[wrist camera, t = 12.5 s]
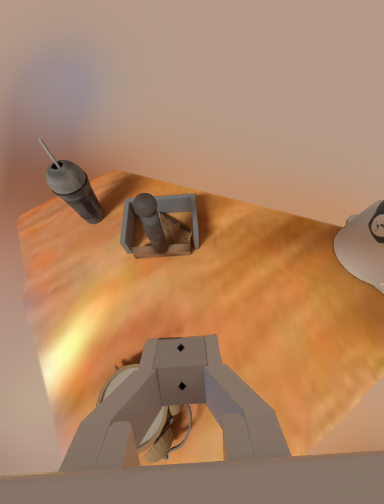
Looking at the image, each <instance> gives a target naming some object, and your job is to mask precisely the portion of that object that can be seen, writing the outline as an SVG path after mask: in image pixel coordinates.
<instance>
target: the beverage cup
mask: <svg viewBox="0 0 384 504" xmlns="http://www.w3.org/2000/svg"><path fill="white" fill-rule="evenodd" d="M38 140H39V141H40V143H41V144H42V146H43V147H44V149H45V150H46V152H47V153H48V154H49V156H50V157H51V159H52V160H53V161H54V162H53V163H52V164H51V165H50V166H49V167H48V169H47V173H46V177H47V178H46V179H47V182H48V184H49V186H50V188H51V190H52V192H54V193H55V194H56V195H58V196H59V197H61V198H62V199H63V200H65V201H66V202H67V203H68V204H69V205H70V206H71V207H72V208H73V209H74V210H75V211H76V212H77V213H78V214H79V215H80V216H81V217H82V218H83V219H85V220H86V221H87V222H88V223H90V224H96V223H99V222H100V221H102V219H103V218H104V212H103V210H102V208H101V206H100V204H99V202H98V200H97V198H96V196H95V194H94V192H93V190H92V188H91V186H90V182H89V180H88V178H87V174H86V173H85V172H84V171H83V170H82V169H81V168H80V167H79V166H78V165H76V164H75V163H73V162H70V161H66V160H59V161H56V159H55V158H54V156H53V155H52V154H51V152H50V151H49V149H48V148H47V146H46V145H45V143H44V142H43V141H42V139H41V138H38Z"/></svg>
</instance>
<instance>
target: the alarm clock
mask: <svg viewBox="0 0 384 504" xmlns="http://www.w3.org/2000/svg"><path fill="white" fill-rule="evenodd" d="M138 367H139V364H131V365H126V366H124V367H122V368H120V369H118V367H117V366H114V369H115V372H114V373H113V374H112V375H111V376H110V377H109V378H108V379H107V381H106V382H105V384H104V386H103V387H102V389H101V391H100V394H99V397H98V400H97V403H96V407H97V406H98V405H99V404H100V403H101V402H102V401H103V400H104V399H105V398H106V397H107V396H109V395H110V394H111V393H112V392H113V391H114V390H115V389H116V388H117V387H118V386H119V385H120V384H121V383H122V382H123V381H124V380H125V379H126V378H127V377H128V376H129V375H130V374H131V373H132V372H133V371H135V370H138ZM185 405H186V406H187V409H188V412H189V417H190V421H189V429H188V432H187V435H186V437H185V439H184V440H183V441H182V442H181V443H180V444H179V445H177V446H175V447H173V448H171V449H170V450H169V448H170V446H171V444H172V441H173V431H172V429H171V427H169V428H168V429H167V430H166V432H165V433H164V434H163V435H162V437H161V438H160V439H159V438H158V436H159V435H160V434H161V433H162V432H163V430H164V429H165V427H166V424H167V422H168V420H169V418H170V413H171V415H176V414H178V413H179V412H180V410H181V409H182V406H183V404H180V405H170V406H162V409H161V411H160V412H159V414H158V415H157V417H156V419H155V420H154V422H153V424H152V425H151V427H150V428H149V430H148V432H147V433H146V435H145V437H144V438H143V440H142V441H141V443H140V445H139V446H138V448H137V453H138V454H139V453H140V452H142V451H144V450H145V449H147V448H149V447H150V446H151V445H152V443H153V442H154V441H155V440H157V443H155V445H154V446H153V447H152V448H151V449H150V451H149V452H148V453H147V454H146V455H145V457H144V458H145V459H146V460H147V461H148V462H151V463H153V462H157V461H159V460H160V459H161V458H164V459H165V460H167V459H168V453H169V452H171V451H174V450H176V449H178V448H180V447H181V446H182V445H183V444H184V443H185V441H186V439H187V438H188V436H189V433H190V430H191V425H192V413H191V409H190V407H189V405H188V404H185ZM169 421H170V424H172V422H173V418H171V420H169ZM168 450H169V451H168Z"/></svg>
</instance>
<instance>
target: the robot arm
mask: <svg viewBox="0 0 384 504" xmlns="http://www.w3.org/2000/svg"><path fill="white" fill-rule="evenodd" d="M334 250H335V254H336V256H337V258H338V260H339V261H340V263H341V264H342V265H343V267H344V268H345V269H346V270H347V271H348V272H350V273H351V274H352V275H354V276H355V277H357V278H358V279H360V280H362V281H365V282H367V283H369V284H371V285H373V286H374V287H376V288H377V289H378V290H379V291H380V292H382V293H383V294H384V200H383V201H381V200H379V201H377V202H376V203H374V204H373V205H371V206H370V207H369V208H367V209H366V210H364V211H363V212H362V213H360V214H359V215H352V216H350V217H349V218H348V219H347V221H346V225H345V226H344V227H343V228H342V229H341V230H340V231H339V232H338V233H337V235H336V236H335V239H334ZM200 403H206V405H207V407H208V408H209V410H210V411H211V413H212V414H213V416H214V417H215V419H216V421H217V422H218V424H219V425H220V427H221V428H222V430H223V455H224V461H215V462H200V463H185V464H170V465H155V466H140V462H139V458H138V453H137V448H138V446H139V445H140V443H141V441H142V440H143V438H144V437H145V435H146V433H147V432H148V430H149V428H150V427H151V425H152V424H153V422H154V420H155V419H156V417H157V415H158V414H159V412H160V411H161V409H162V406H170V405H180V404H200ZM0 504H384V450H382V451H368V452H353V453H337V454H323V455H306V456H291V454H290V451H289V448H288V446H287V443H286V440H285V438H284V435H283V433H282V430H281V427H280V425H279V422H278V419H277V417H276V414H275V411H274V410H273V409H272V408H271V407H270V406H269V405H268V404H267V403H266V402H265V401H264V400H263V399H262V398H261V397H260V396H259V395H258V394H256V393H255V392H254V391H253V390H252V389H251V388H250V387H249V386H248V385H247V384H246V383H245V382H244V381H243V380H242V379H241V378H240V377H239V376H238V375H237V374H236V373H235V372H234V371H232V370H231V369H230V368H229V367H228V366H227V365H226V364H223V365H222V360H221V355H220V350H219V344H218V339H217V335H216V334H211V335H205V336H190V337H173V338H155V339H147V340H146V342H145V345H144V349H143V353H142V356H141V360H140V364H139V367H138V370H135V371H133V372H132V373H131V374H130V375H129V376H128V377H127V378H126V379H125V380H124V381H123V382H122V383H121V384H120V385H119V386H118V387H117V388H116V389H115V390H114V391H113V392H112V393H111V394H110V395H109V396H107V397H106V398H105V399H104V400H103V401H102V402H101V403H100V404H99V405H98V406H97V407H96V408H95V409H94V410H93V411H92V412H91V413H90V414H89V415H88V416H87V417H86V418H85V419H84V420H83V421H82V422H81V423H80V425H79V427H78V430H77V432H76V434H75V436H74V438H73V441H72V443H71V445H70V447H69V449H68V451H67V454H66V456H65V458H64V460H63V462H62V465H61V467H60V469H59V471H58V472H46V473H31V474H16V475H1V476H0Z"/></svg>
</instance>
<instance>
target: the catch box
mask: <svg viewBox="0 0 384 504" xmlns="http://www.w3.org/2000/svg"><path fill="white" fill-rule="evenodd" d="M154 198H155V199H156V201H157V211H158V214H160V212H162V213H174V212H188V211H192V221H193V235H194V248H195V249H199V233H198V222H197V210H196V199H195V194H182V195H169V196H155V197H154ZM134 199H135V198H127V199H125V202H124V211H123V220H122V229H121V238H120V243H121V245H122V246H123V248H124V249H125V250H126V252H127V253H128V254H129V253H132V247H133V236H134V223H135V215H137V214H136V212H135V211H134V208H133V201H134Z"/></svg>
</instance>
